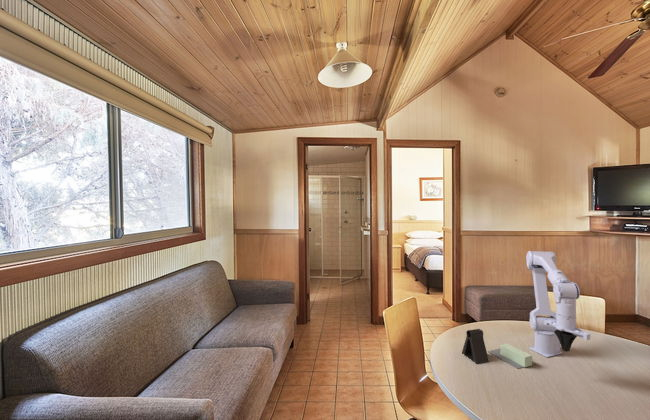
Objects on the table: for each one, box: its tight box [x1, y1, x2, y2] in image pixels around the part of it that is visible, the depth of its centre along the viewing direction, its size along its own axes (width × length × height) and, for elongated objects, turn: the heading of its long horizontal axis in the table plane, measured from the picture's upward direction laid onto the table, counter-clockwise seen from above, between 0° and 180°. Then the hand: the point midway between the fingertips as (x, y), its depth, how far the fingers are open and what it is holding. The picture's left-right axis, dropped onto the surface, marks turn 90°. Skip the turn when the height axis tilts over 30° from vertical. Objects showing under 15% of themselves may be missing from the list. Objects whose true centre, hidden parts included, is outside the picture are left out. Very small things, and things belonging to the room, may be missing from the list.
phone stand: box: [461, 328, 490, 365], centre depth 125 cm, size 9×6×12 cm, turn 13°
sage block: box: [499, 342, 533, 368], centre depth 122 cm, size 4×4×11 cm
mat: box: [487, 348, 537, 369], centre depth 124 cm, size 10×14×1 cm
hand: (565, 350), depth 110 cm, fingers closed
